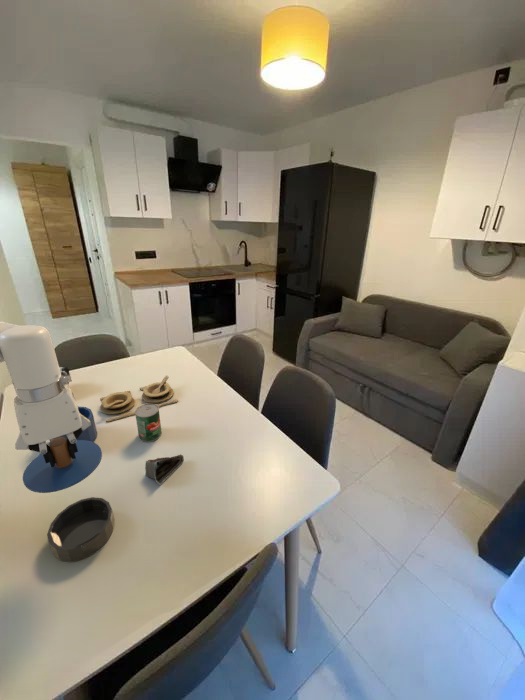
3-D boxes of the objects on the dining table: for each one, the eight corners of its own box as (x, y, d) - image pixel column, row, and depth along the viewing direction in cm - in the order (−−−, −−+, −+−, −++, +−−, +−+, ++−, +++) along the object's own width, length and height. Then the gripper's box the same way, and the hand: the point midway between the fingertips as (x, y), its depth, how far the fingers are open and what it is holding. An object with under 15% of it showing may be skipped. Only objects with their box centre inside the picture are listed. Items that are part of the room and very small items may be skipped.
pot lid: (11, 503, 57) (-1, 476, 54) (38, 450, 69) (29, 426, 66) (96, 485, 61) (90, 459, 58) (106, 439, 74) (101, 415, 71)
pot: (46, 457, 94) (38, 434, 90) (58, 431, 106) (52, 409, 102) (93, 449, 98) (87, 427, 95) (100, 425, 110) (95, 404, 106)
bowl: (44, 570, 65) (39, 557, 63) (61, 516, 76) (57, 504, 74) (110, 551, 69) (107, 539, 67) (117, 503, 80) (114, 492, 79)
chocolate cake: (170, 452, 99) (142, 446, 90) (185, 455, 96) (158, 449, 86) (161, 483, 95) (132, 479, 86) (177, 486, 92) (148, 483, 83)
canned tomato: (158, 442, 103) (155, 416, 99) (135, 442, 103) (131, 416, 98) (164, 427, 110) (161, 403, 106) (142, 427, 110) (139, 403, 105)
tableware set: (166, 382, 141) (165, 371, 138) (180, 402, 126) (179, 390, 124) (97, 399, 125) (95, 387, 123) (104, 424, 111) (101, 411, 108)
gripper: (84, 369, 64) (100, 435, 72) (-15, 392, 55) (15, 465, 62) (91, 383, 59) (107, 453, 66) (-17, 412, 49) (16, 489, 57)
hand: (62, 458), depth 64 cm, fingers closed on pot lid, 3 cm apart
